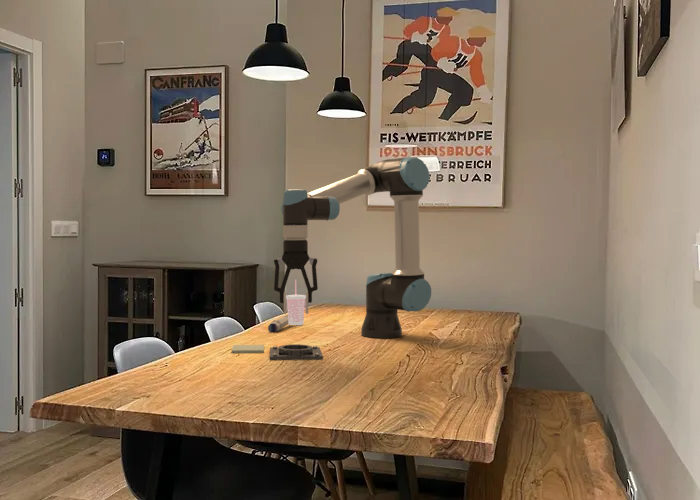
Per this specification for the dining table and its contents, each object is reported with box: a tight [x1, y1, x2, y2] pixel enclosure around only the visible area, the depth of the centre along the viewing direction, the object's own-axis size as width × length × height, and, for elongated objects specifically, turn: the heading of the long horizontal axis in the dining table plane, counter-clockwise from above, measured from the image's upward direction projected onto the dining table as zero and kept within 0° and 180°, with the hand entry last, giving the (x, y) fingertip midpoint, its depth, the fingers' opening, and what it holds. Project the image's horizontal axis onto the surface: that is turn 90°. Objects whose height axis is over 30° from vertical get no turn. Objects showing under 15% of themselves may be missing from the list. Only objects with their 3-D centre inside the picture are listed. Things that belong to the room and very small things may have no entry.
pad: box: [231, 344, 265, 354], centre depth 224 cm, size 10×10×1 cm
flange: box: [269, 343, 324, 361], centre depth 217 cm, size 16×16×2 cm
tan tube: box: [267, 314, 289, 333], centre depth 274 cm, size 5×7×25 cm
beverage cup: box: [286, 279, 306, 326], centre depth 217 cm, size 6×6×14 cm
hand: (295, 313), depth 217 cm, fingers closed on beverage cup, 6 cm apart
